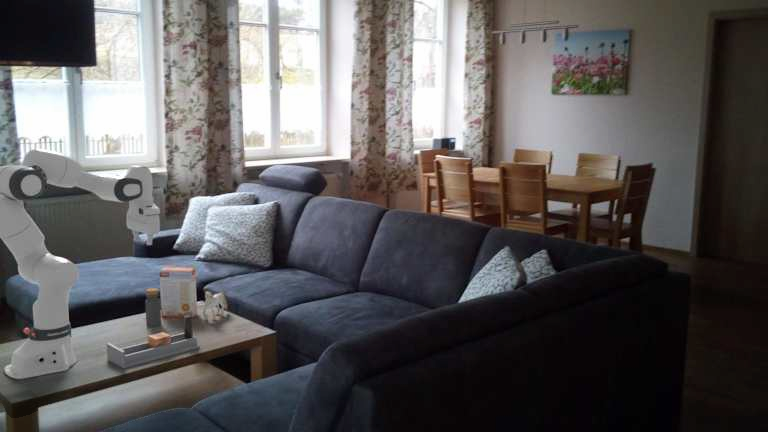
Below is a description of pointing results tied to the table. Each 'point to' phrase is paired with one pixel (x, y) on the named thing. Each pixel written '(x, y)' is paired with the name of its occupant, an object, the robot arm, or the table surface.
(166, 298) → the cracker box
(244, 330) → the table surface
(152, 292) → the bottle
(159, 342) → the block and post stand
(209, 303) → the unicorn figurine
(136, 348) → the board
